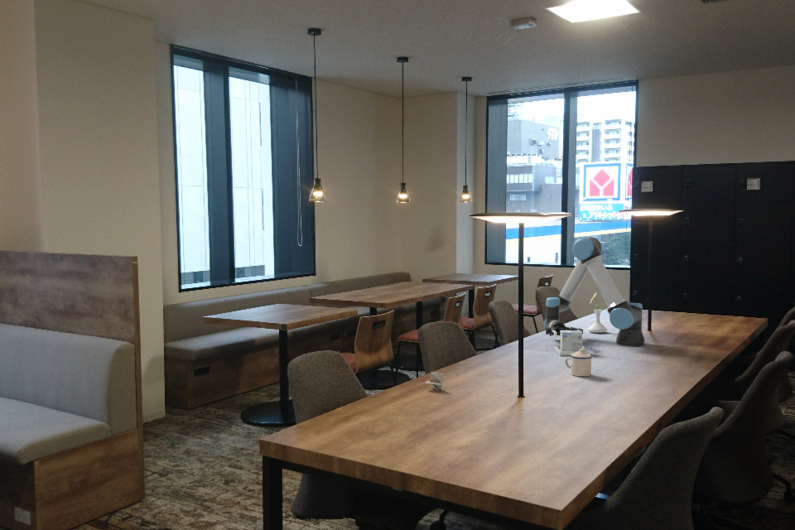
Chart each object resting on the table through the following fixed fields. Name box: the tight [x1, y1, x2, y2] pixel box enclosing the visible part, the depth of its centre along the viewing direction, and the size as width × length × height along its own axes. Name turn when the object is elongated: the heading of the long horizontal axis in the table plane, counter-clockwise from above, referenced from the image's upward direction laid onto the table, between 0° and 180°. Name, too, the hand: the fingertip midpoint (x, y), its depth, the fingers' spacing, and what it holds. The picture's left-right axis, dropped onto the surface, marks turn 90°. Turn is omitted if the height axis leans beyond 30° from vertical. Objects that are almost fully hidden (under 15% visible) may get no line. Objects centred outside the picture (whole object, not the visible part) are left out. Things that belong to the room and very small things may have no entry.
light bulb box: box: [559, 330, 583, 352], centre depth 354 cm, size 11×7×11 cm, turn 85°
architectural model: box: [424, 371, 445, 392], centre depth 280 cm, size 3×7×7 cm, turn 62°
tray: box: [553, 345, 590, 357], centre depth 355 cm, size 15×17×2 cm
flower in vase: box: [587, 291, 608, 334], centre depth 414 cm, size 13×11×25 cm
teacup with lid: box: [564, 349, 593, 377], centre depth 306 cm, size 12×9×12 cm
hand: (568, 334), depth 359 cm, fingers open, 13 cm apart
